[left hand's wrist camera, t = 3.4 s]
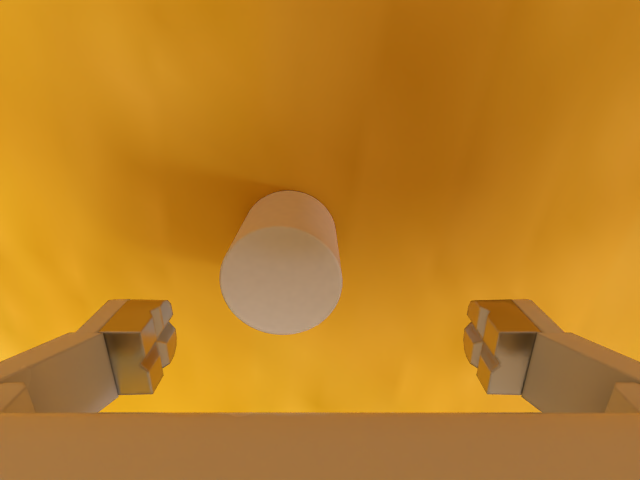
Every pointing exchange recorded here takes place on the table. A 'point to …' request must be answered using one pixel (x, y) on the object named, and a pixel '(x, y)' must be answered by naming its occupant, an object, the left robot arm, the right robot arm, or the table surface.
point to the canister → (283, 265)
